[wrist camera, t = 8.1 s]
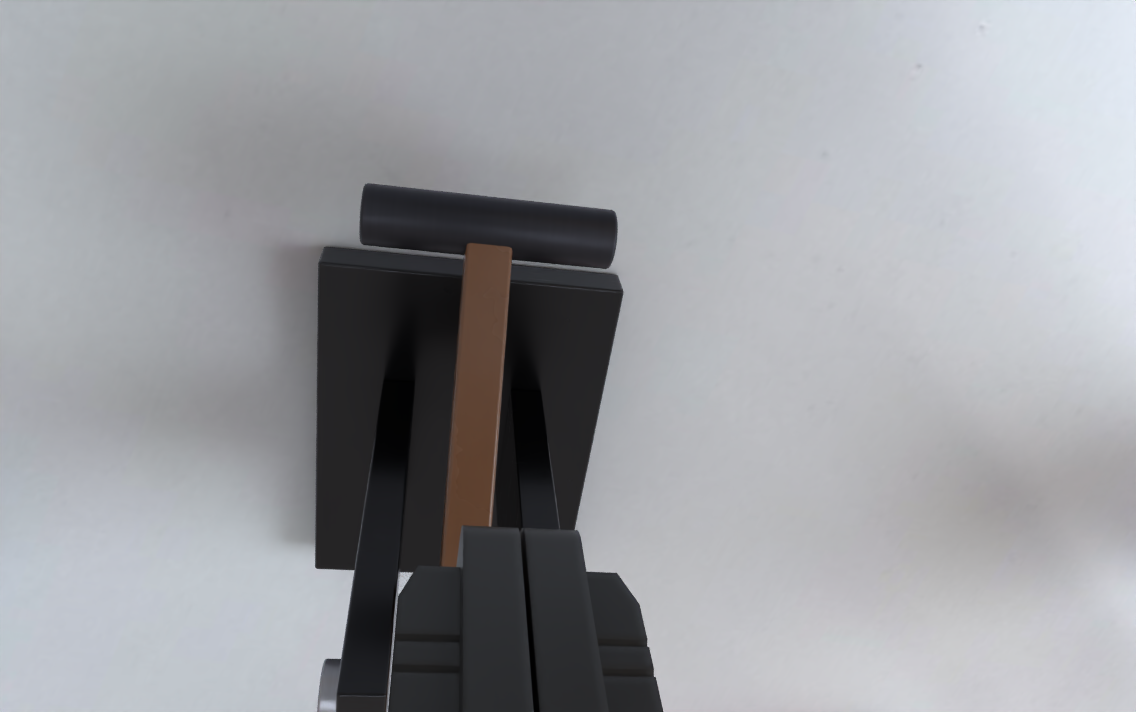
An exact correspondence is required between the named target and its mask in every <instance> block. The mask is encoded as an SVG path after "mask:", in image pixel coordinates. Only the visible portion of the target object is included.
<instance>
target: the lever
mask: <svg viewBox="0 0 1136 712" xmlns="http://www.w3.org/2000/svg"><path fill="white" fill-rule="evenodd" d="M617 231H618V225H617V217H616V213H615V212H614V211H612V210H606V209H597V208H588V207H579V206H570V205H561V204H552V203H543V202H533V201H524V200H515V199H506V198H497V197H488V196H479V195H470V194H461V193H452V192H443V191H433V190H424V189H415V188H406V187H397V186H388V185H379V184H370V183H368V184H365V186H364V188H363V193H362V200H361V210H360V242H361V244H363V245H368V246H379V247H389V248H399V249H409V250H419V251H429V252H439V253H450V254H460V255H464V261H463V274H462V287H461V299H460V312H459V325H458V337H457V350H456V363H455V375H454V388H453V401H452V413H451V426H450V439H449V451H448V464H447V477H446V489H445V502H444V515H443V527H442V540H441V553H440V565H439V566H444V567H456V565H457V557H458V549H459V541H460V533H461V527H462V525H469V526H490V527H492V517H493V504H494V491H495V477H496V464H497V451H498V437H499V424H500V411H501V398H502V384H503V371H504V358H505V345H506V331H507V318H508V305H509V292H510V278H511V265H512V260H521V261H531V262H541V263H551V264H561V265H571V266H581V267H592V268H602V269H607V268H609V267H610V265H611V263H612V261H613V258H614V254H615V250H616V243H617Z"/></svg>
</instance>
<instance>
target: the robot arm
mask: <svg viewBox="0 0 1136 712" xmlns="http://www.w3.org/2000/svg"><path fill="white" fill-rule="evenodd" d="M388 712H663V708H662V704H661V699H660V695H659V690H658V686H657V681H656V677H654V668H653V663H652V659H651V654H650V650H649V647H647V636H646V632H645V627H644V623H643V618H642V614H641V609H640V605H639V603H638V602H637V600H636V599H635V598H634V596H633V595H632V593H631V592H630V591H629V589H628V588H627V586H626V585H625V584H624V582H623V581H622V580H621V578H620V577H619V575H618V574H617V573H603V572H586V567H585V561H584V555H583V549H582V542H581V537H580V534H579V532H578V531H577V530H559V529H537V528H522V529H521V531H520V532H519V529H518V528H511V527H490V526H469V525H462V527H461V533H460V541H459V549H458V557H457V565H456V567H444V566H419V565H418V566H417V568H416V569H415V571H414V572H413V574H412V576H411V577H410V579H409V580H408V582H407V583H406V585H405V587H404V588H403V590H402V591H401V593H400V594H399V596H398V603H397V615H396V626H395V638H394V649H393V661H392V672H391V684H390V695H389V707H388Z"/></svg>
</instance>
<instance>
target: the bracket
mask: <svg viewBox="0 0 1136 712" xmlns="http://www.w3.org/2000/svg"><path fill="white" fill-rule="evenodd" d="M463 261H464V260H458V259H448V258H438V257H427V256H417V255H407V254H397V253H386V252H376V251H366V250H356V249H345V248H335V247H324V249H323V251H322V254H321V257H320V260H319V263H318V339H317V434H316V529H315V567H316V568H317V569H336V570H355V571H354V577H353V584H352V591H351V597H350V604H349V611H348V618H347V624H346V631H345V638H344V644H343V651H342V658H341V659H326V660H325V661H324V663H323V667H322V672H321V679H320V686H319V695H318V707H317V712H387V711H388V700H389V689H390V677H391V666H392V655H393V644H394V632H395V621H396V610H397V599H398V587H399V576H400V572H414V571H415V569H416V568H417V566H418V565H419V566H439V565H440V553H441V540H442V527H443V515H444V502H445V489H446V477H447V464H448V451H449V439H450V426H451V413H452V401H453V388H454V375H455V363H456V350H457V337H458V325H459V312H460V299H461V287H462V274H463ZM622 298H623V289H622V286H621V283H620V280H619V277H618V276H617V275H612V274H602V273H591V272H581V271H571V270H561V269H550V268H540V267H530V266H520V265H511V278H510V292H509V305H508V318H507V331H506V345H505V358H504V371H503V384H502V398H501V411H500V424H499V437H498V451H497V464H496V477H495V491H494V504H493V517H492V527H511V528H518V529H519V532H520V531H521V529H522V528H537V529H559V530H575V525H576V520H577V515H578V510H579V506H580V501H581V496H582V491H583V486H584V481H585V476H586V472H587V467H588V462H589V457H590V452H591V447H592V443H593V438H594V433H595V428H596V423H597V418H598V414H599V409H600V404H601V399H602V394H603V389H604V385H605V380H606V375H607V370H608V365H609V360H610V356H611V351H612V346H613V341H614V336H615V331H616V327H617V322H618V317H619V312H620V307H621V302H622Z"/></svg>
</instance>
